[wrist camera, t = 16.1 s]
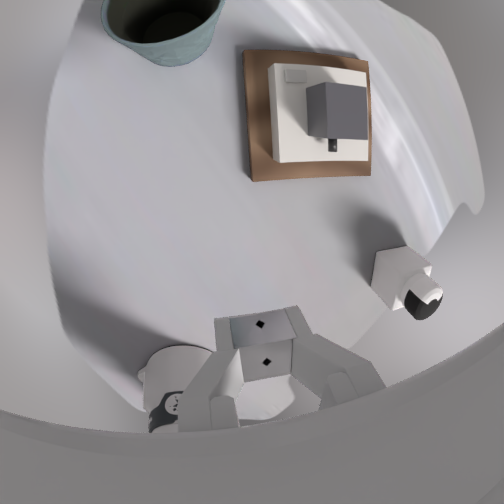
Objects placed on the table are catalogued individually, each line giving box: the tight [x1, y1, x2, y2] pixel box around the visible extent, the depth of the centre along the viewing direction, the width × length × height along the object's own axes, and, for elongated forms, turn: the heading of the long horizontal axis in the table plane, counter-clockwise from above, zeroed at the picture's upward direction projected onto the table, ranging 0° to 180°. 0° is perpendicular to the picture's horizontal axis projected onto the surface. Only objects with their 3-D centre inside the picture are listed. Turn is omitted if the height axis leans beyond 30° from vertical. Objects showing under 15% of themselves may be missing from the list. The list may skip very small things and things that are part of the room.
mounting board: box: [242, 50, 372, 182], centre depth 29 cm, size 16×16×2 cm
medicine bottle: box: [371, 246, 443, 320], centre depth 37 cm, size 7×7×12 cm
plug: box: [306, 82, 368, 152], centre depth 24 cm, size 7×4×6 cm, turn 4°
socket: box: [268, 63, 368, 163], centre depth 27 cm, size 11×11×4 cm
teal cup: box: [101, 0, 225, 67], centre depth 17 cm, size 10×10×12 cm
